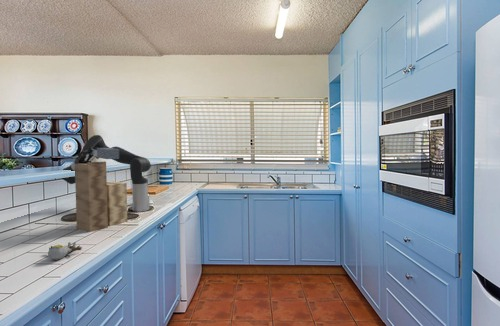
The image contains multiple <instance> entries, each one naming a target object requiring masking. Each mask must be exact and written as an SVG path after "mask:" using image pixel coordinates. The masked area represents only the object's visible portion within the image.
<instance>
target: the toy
mask: <svg viewBox="0 0 500 326" xmlns="http://www.w3.org/2000/svg"><path fill="white" fill-rule="evenodd" d="M71 244H72V245H71ZM48 248H49V249H48V251H47V256H48V258H49V259H51V260H54V261H59V260H61V259H63V258H65V257H68V258H71V257H72V255H71V254H70V253H73V252H76V251H82V250H83V246H80V244H79V245H77V243H76V241H74V242H73V243H71V242H70V241H69V242H68V243H67V245H61V244H56V245H54V246H52V245H50V247H48ZM71 251H72V252H71ZM67 254H69V255H67ZM58 259H59V260H58Z"/></svg>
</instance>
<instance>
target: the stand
mask: <svg viewBox="0 0 500 326" xmlns="http://www.w3.org/2000/svg"><path fill="white" fill-rule="evenodd" d="M107 182H108V181H107V161H91V162H87V163H84V164H75V183H74V185H75V188H74V189H75V210H76V211H75V215H76V218H75V219H76V229H79V230H82V231H85V232H89V233H91V232H94V231H95V232H96V231H101V230H104V229H107V228H109V227H108V226H109V225H108V218H107Z"/></svg>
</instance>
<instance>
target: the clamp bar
mask: <svg viewBox="0 0 500 326" xmlns="http://www.w3.org/2000/svg"><path fill="white" fill-rule="evenodd" d="M90 154H91V155H96V156H97V157H98V158H99V159H105V160H112V159H119V149H114V148H112V147H109V148H97V150H94V149H93V151H92V152H91V153H90Z"/></svg>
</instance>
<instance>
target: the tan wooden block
mask: <svg viewBox="0 0 500 326" xmlns="http://www.w3.org/2000/svg"><path fill="white" fill-rule="evenodd" d="M127 193H128V189H127V182H121V181H120V182H119V181H107V218H108V226H110V227H112V226H116V225H118V224H124V223H128V195H127Z"/></svg>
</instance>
